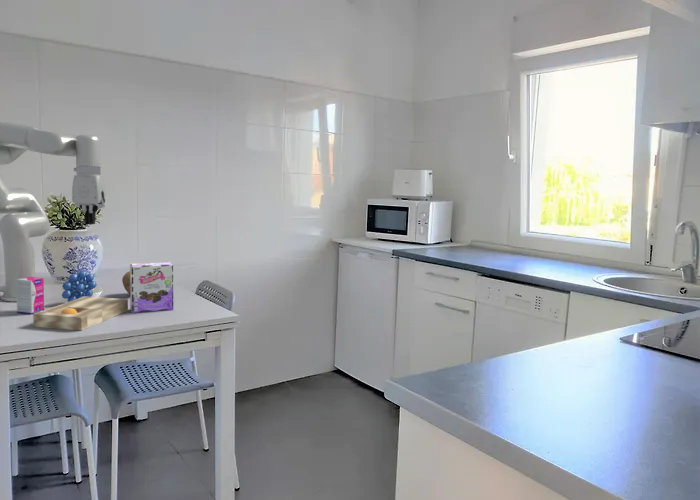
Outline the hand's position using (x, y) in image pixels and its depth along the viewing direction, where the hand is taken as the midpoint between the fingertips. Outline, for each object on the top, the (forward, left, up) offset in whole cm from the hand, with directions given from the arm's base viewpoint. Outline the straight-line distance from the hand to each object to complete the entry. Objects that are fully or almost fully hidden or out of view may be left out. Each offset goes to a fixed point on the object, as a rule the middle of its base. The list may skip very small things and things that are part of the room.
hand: (90, 224), depth 185 cm
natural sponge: (+6, +18, -29) cm, 35 cm away
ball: (+8, -23, -27) cm, 36 cm away
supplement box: (-13, -14, -29) cm, 35 cm away
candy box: (+23, 0, -29) cm, 37 cm away
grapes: (-6, +1, -29) cm, 30 cm away
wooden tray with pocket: (+8, -16, -29) cm, 34 cm away
